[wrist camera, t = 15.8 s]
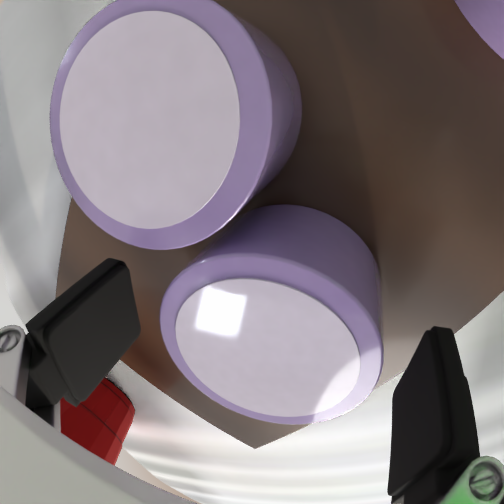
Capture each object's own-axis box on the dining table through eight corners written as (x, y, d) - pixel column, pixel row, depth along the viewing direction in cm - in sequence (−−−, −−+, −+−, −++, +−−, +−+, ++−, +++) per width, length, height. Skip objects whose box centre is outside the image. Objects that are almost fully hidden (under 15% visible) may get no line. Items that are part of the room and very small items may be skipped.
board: (327, -168, 2) (323, -179, 1) (630, 67, 2) (642, 68, 1) (64, 293, 18) (54, 301, 17) (259, 437, 18) (254, 449, 17)
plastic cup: (121, 431, 27) (65, 513, 17) (50, 356, 24) (-25, 435, 14) (189, 437, 22) (121, 554, 11) (94, 338, 19) (-15, 458, 9)
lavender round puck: (266, 162, 9) (220, 195, 6) (418, 286, 9) (434, 362, 6) (182, 290, 13) (134, 345, 10) (304, 376, 13) (284, 444, 10)
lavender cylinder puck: (174, -8, 7) (103, -34, 4) (346, 82, 7) (341, 68, 4) (102, 144, 11) (31, 167, 8) (231, 240, 11) (182, 298, 8)
